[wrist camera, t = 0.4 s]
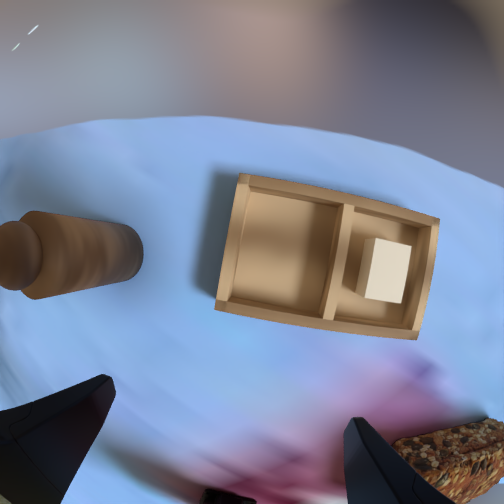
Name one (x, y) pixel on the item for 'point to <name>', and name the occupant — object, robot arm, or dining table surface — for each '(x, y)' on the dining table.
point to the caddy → (320, 258)
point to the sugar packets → (383, 270)
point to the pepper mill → (65, 254)
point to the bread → (458, 458)
